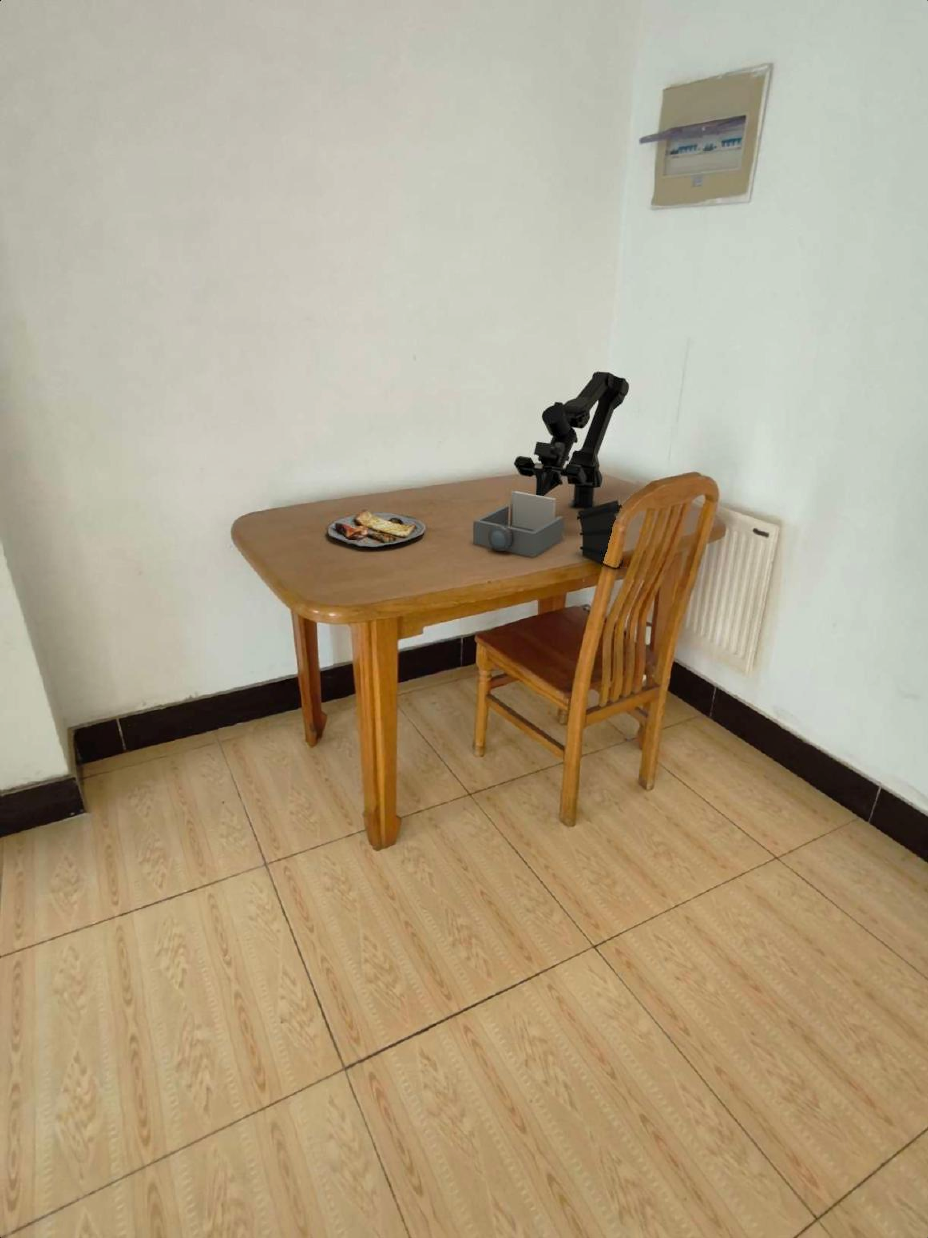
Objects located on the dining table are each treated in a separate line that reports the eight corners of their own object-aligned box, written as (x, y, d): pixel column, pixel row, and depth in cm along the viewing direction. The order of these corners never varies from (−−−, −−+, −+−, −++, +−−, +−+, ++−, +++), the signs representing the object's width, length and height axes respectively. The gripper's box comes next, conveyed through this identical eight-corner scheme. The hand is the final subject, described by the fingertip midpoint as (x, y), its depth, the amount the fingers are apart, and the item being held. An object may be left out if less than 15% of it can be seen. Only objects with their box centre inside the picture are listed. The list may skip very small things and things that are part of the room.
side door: (509, 524, 190) (510, 491, 186) (513, 522, 192) (514, 489, 188) (551, 533, 184) (553, 499, 180) (555, 531, 186) (557, 497, 182)
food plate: (309, 535, 186) (308, 522, 185) (372, 514, 203) (371, 502, 201) (380, 560, 173) (380, 546, 171) (441, 535, 190) (441, 522, 188)
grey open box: (505, 526, 193) (505, 502, 190) (563, 538, 185) (564, 514, 182) (468, 546, 180) (468, 520, 177) (528, 560, 171) (529, 534, 168)
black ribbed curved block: (624, 567, 163) (608, 502, 162) (585, 573, 174) (570, 513, 173) (635, 563, 165) (620, 499, 164) (596, 570, 176) (581, 510, 175)
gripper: (518, 424, 186) (495, 476, 182) (584, 433, 176) (561, 487, 173) (532, 449, 195) (510, 498, 192) (595, 458, 186) (573, 511, 182)
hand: (537, 498), depth 185 cm, fingers closed
